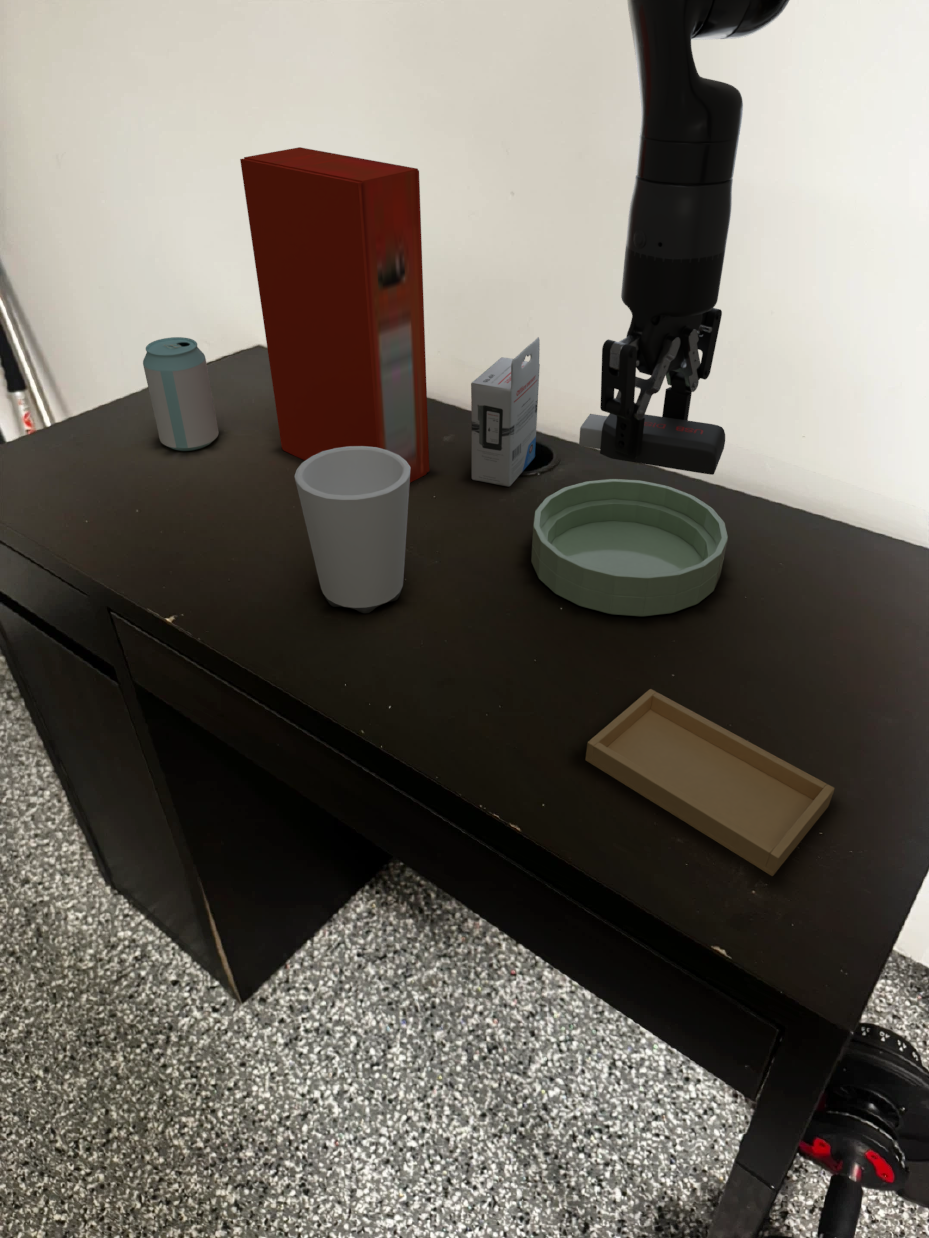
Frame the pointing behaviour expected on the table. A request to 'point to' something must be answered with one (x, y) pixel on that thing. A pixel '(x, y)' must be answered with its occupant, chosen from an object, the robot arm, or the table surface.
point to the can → (180, 393)
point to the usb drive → (661, 442)
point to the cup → (356, 523)
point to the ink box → (505, 417)
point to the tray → (711, 779)
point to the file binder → (341, 300)
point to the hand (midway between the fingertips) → (650, 442)
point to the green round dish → (628, 547)
